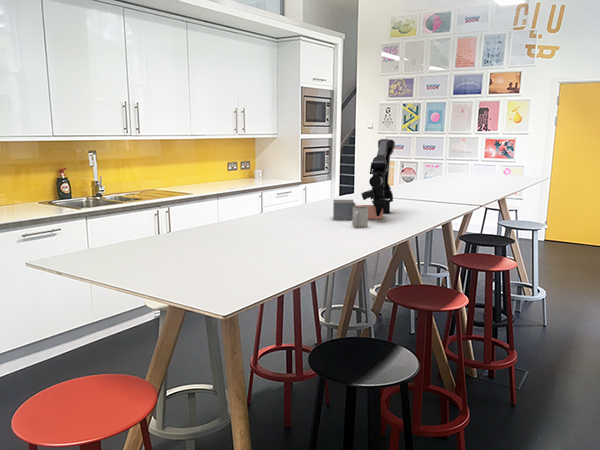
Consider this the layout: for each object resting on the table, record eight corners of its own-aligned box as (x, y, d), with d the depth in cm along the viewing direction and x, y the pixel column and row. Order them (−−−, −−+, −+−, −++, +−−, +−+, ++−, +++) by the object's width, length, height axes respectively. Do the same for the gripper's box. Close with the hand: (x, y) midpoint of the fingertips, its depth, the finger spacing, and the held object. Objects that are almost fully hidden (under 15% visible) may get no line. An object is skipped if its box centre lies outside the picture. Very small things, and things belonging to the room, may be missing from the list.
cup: (370, 225, 240) (370, 207, 238) (361, 229, 232) (361, 210, 230) (356, 224, 244) (356, 205, 242) (347, 227, 236) (347, 208, 234)
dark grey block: (354, 216, 262) (354, 199, 260) (355, 220, 253) (356, 202, 251) (333, 216, 263) (333, 199, 261) (333, 220, 253) (333, 202, 251)
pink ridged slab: (382, 217, 258) (382, 205, 257) (382, 218, 256) (383, 205, 254) (348, 217, 259) (349, 205, 258) (349, 218, 256) (349, 205, 255)
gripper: (361, 182, 263) (360, 212, 266) (363, 187, 245) (362, 219, 248) (382, 183, 263) (381, 212, 266) (386, 187, 244) (385, 219, 247)
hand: (377, 215), depth 257 cm, fingers closed on pink ridged slab, 2 cm apart
